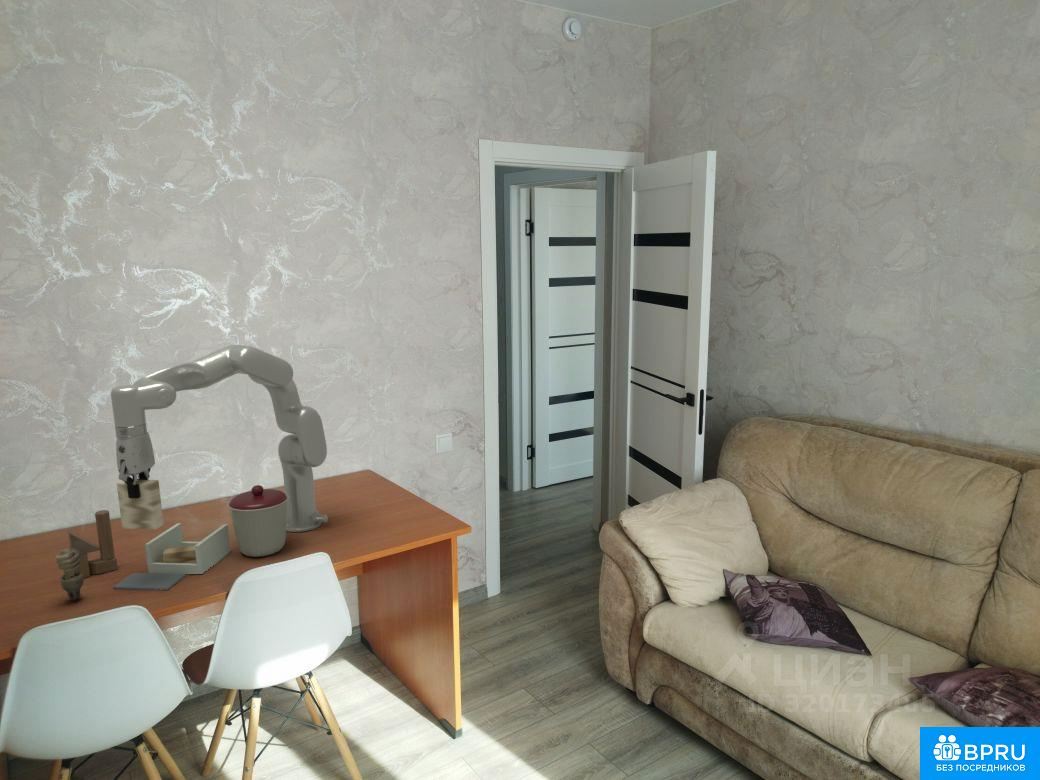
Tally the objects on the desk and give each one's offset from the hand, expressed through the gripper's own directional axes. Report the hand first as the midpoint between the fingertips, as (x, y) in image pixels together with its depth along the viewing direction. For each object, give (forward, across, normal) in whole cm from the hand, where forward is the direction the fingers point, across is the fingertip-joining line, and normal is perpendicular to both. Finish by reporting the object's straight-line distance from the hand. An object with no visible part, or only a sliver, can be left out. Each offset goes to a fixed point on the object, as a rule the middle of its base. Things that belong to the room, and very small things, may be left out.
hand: (139, 494), depth 202 cm
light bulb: (+26, -12, +14) cm, 32 cm away
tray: (+26, +15, -4) cm, 30 cm away
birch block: (+9, 0, 0) cm, 9 cm away
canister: (+26, +24, -22) cm, 42 cm away
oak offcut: (+23, +11, -4) cm, 26 cm away
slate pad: (+26, 0, 0) cm, 26 cm away
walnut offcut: (+26, +9, -4) cm, 28 cm away
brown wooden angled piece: (+26, +5, +20) cm, 33 cm away
